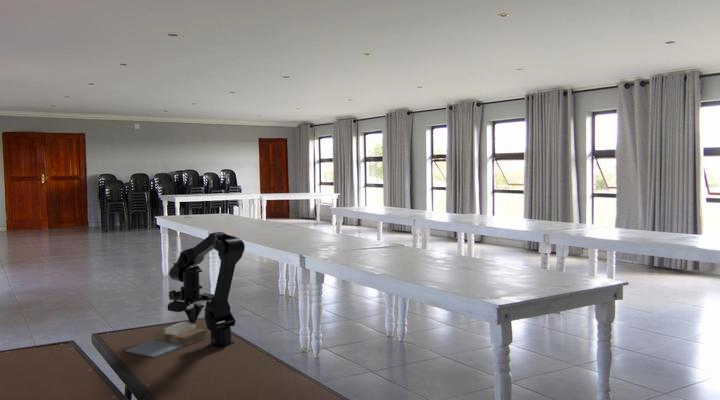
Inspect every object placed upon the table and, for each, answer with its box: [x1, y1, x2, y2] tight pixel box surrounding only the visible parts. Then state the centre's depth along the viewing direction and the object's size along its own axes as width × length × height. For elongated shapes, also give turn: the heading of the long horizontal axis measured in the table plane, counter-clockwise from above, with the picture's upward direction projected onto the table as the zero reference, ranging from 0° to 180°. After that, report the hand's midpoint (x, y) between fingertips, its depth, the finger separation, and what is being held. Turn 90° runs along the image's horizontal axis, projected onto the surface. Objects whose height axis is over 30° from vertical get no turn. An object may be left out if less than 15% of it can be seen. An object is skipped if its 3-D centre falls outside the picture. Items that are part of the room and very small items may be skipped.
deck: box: [154, 327, 207, 347], centre depth 208 cm, size 14×11×3 cm
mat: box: [124, 339, 184, 359], centre depth 198 cm, size 14×13×1 cm
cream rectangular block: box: [164, 321, 197, 336], centre depth 208 cm, size 6×9×2 cm, turn 152°
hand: (192, 325), depth 213 cm, fingers closed
